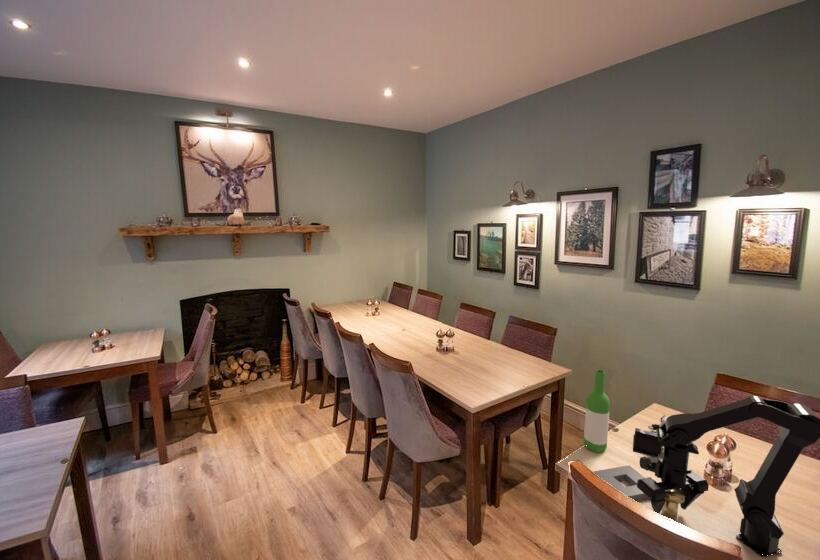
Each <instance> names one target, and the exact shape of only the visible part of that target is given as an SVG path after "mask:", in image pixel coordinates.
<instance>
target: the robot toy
mask: <svg viewBox="0 0 820 560" xmlns="http://www.w3.org/2000/svg"><path fill="white" fill-rule="evenodd" d="M671 415H672V414H671ZM671 415H669V414H668V413H667V412H665V413H664V414H663V415H662V416H661V417H660V418H659V419H660V423H661V425H659V424H657V423H655V424H654V423H653V424H651V425H648V427H647V428H648V429H649V430H653V431H657V430H656V429H657V428H659V427H660V426H662V425H663V424H664V423H665V422H666V419H667V418H668V417H669V416H671Z"/></svg>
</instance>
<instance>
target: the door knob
mask: <svg viewBox="0 0 820 560" xmlns="http://www.w3.org/2000/svg"><path fill="white" fill-rule="evenodd" d="M664 499H666V502H665V504H664V506H663V508H662V510H661V512H660V513H661V516H662V515H664V516H666V517H668V518H671V519H673V520H675V521H677V520H678V512H679V505H681V504H680V503H683V502H684V499H685V494H684V492H683V491H682V490H681V489H676V490H675V489H674V490H669V491H666V497H665V498H664ZM675 521H674V522H675Z"/></svg>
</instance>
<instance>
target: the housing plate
mask: <svg viewBox="0 0 820 560" xmlns="http://www.w3.org/2000/svg"><path fill="white" fill-rule="evenodd" d="M593 472H594V473H595V474H596V475H598V476H599V477H600V478H602V479H603V480H605V481H606V482H608V483H609V484H611V485H612V486H613V487H614V488H616V489H617V490H619V491H621V492H622V493H624V494H625V495H627V496H628V497H630V498H632V499H634V500H636V501H635V502H637V501H641V500H645V499H649V497H648V496H647V495H646V494H644V493H643V492H642V491H641V490H640V489H639V488H637V481H638V479H643V478H645V476H643V475H642V474H641V473H639V471H637V470H636V469H635V468H633V467H632V466H631V465H630V464H629V465H623V466H617V467H616V466H615V467H611V468H605V469H600V470H595V471H594V470H593V471H592V473H593ZM620 481H627V482H628V483H629V484H630V485H628V486H624V485H623V484H622V483H621V482H620Z"/></svg>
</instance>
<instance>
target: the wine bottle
mask: <svg viewBox="0 0 820 560" xmlns="http://www.w3.org/2000/svg"><path fill="white" fill-rule="evenodd" d="M605 376H606V372H605V371H604V370H602V369H597V370H595V376H594V377H595V379H594V387H593V388H594V390H592V391H591V392H589V393H588V395H587V397H586V404H585V405H586V406H585V416H584V432H583V444H584V446H585V448H587V449H588V450H590V451H592V452H595V453H603V452H605V451H607V450H606V449H607V447H608V436H609V424H610V423H609V422H610V410H611V401H610V399H609V396H608V395H607V394H606V393H605V392H604V390H605V378H606V377H605ZM586 445H587V446H586Z"/></svg>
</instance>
